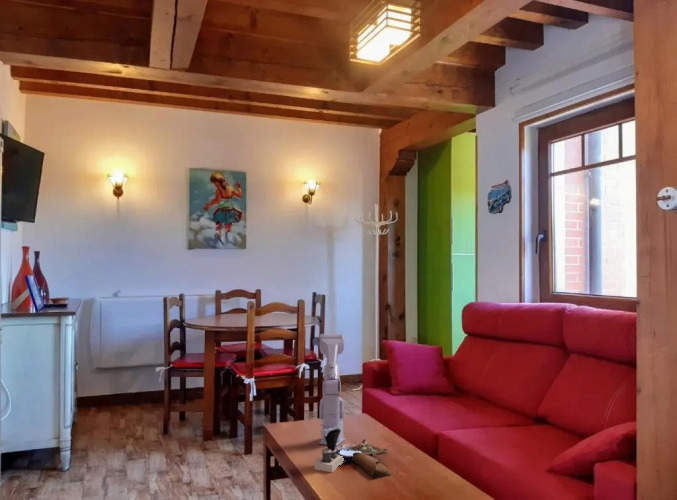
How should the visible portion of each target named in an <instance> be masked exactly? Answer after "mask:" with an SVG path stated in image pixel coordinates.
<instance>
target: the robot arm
mask: <svg viewBox="0 0 677 500" xmlns="http://www.w3.org/2000/svg"><path fill="white" fill-rule="evenodd" d="M344 345H345V336H344V334H343V333H341V334H339V333H326V334H325V333H320V335H319V351H320V353H321V354H322V355H324V356H325V358H326V364H325V365H324V368H323V380H322V395H323V396H322V398H321V399H320V401H319V410H318V411H319V413H318V414H319V419H320V420H322V423H321V424H320V426H321V427H322V429H321V430H320V436H321V437H322V439H321V440H319V442H318V444H319V445H320V444H321V445H326V446H327V449H330V450H332V451H334V450H335V447H336V446H338V447H339V445H340V444H341V443H342V442H344V441H345V440H346V438H345V437H344V422H343V419H344V413H345V412H344V411H345V410H344V408H345V407H344V405H345V404H344V400H343V398H341V397H340V394H341V393H342V392H341V391H342V389H341V388H342V387H341V386H342V385H341V378H340V366H339V364H337V362H338V361H337V360H338V356H339V355H341V354H343V352H344V348H345V346H344Z"/></svg>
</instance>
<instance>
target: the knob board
mask: <svg viewBox="0 0 677 500" xmlns="http://www.w3.org/2000/svg"><path fill="white" fill-rule="evenodd" d="M343 461H344V458H343V456H340V455H336V458H335V459H331V461H330V462H323V461H322V455H321V456H320V457H319V458H318V459H316V460H315V461H314V462H313V470H315V471H321V470H322V472H326V473H327V472H328V473H334V471H336V468H337V467H338V466H339V465H340V466H341V465H342V464H343V463H344V462H345V461H344V462H343ZM340 466H339V467H340ZM339 467H338V468H339ZM338 468H337V469H338Z"/></svg>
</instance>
